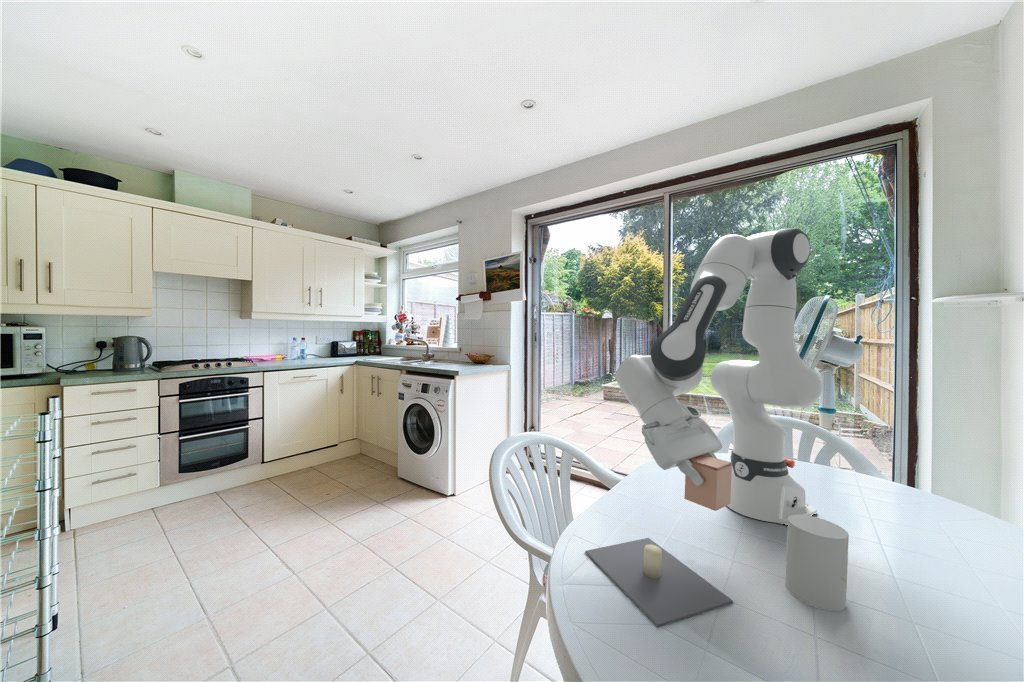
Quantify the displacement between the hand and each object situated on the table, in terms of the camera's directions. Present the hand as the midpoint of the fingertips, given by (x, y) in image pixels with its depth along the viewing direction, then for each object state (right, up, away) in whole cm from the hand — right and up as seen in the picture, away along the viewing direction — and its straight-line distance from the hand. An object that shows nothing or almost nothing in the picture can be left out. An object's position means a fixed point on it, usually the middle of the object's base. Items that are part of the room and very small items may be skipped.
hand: (711, 480), depth 71 cm
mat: (-13, -16, -4) cm, 21 cm away
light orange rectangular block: (-1, -4, +1) cm, 4 cm away
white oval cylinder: (+14, -17, -8) cm, 23 cm away
